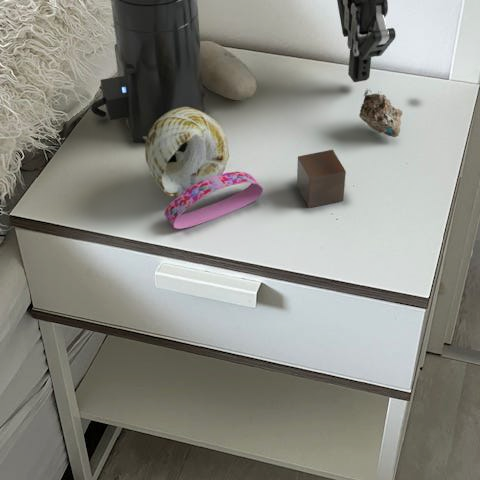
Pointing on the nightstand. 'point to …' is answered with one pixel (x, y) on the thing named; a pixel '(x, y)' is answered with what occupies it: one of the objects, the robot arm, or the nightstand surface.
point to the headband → (213, 210)
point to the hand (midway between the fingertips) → (358, 78)
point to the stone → (225, 72)
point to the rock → (380, 114)
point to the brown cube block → (320, 178)
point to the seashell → (185, 150)
